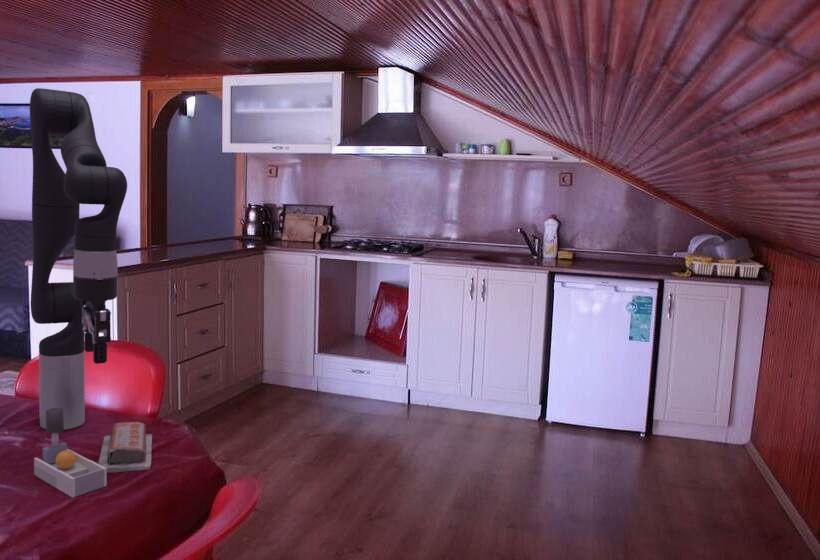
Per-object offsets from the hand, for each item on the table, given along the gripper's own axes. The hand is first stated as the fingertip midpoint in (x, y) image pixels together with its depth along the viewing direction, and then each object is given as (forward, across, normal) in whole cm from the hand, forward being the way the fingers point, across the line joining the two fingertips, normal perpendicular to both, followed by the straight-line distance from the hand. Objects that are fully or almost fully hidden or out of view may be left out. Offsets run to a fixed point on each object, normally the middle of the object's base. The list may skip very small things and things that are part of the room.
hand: (95, 356), depth 127 cm
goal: (+23, +6, -3) cm, 24 cm away
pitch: (+24, -1, -6) cm, 24 cm away
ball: (+20, 0, -5) cm, 20 cm away
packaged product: (+24, -6, +7) cm, 26 cm away
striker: (+21, -4, -7) cm, 22 cm away
